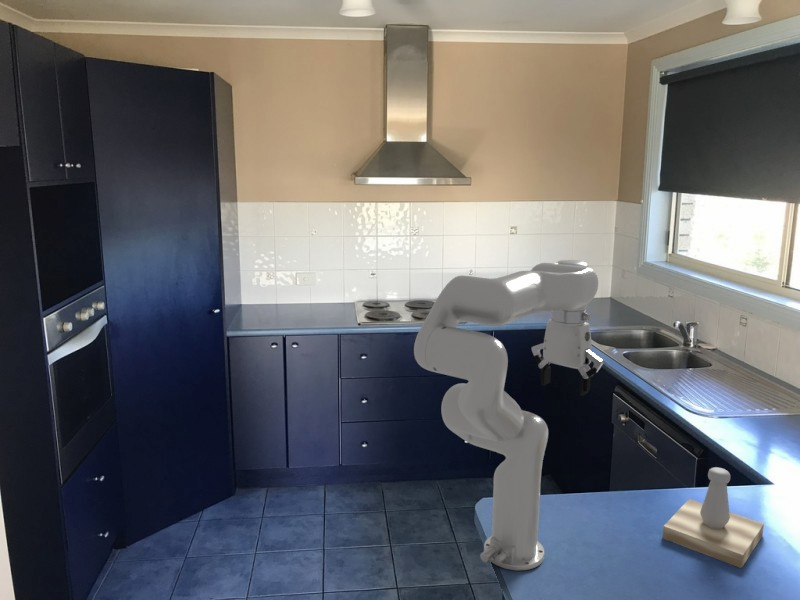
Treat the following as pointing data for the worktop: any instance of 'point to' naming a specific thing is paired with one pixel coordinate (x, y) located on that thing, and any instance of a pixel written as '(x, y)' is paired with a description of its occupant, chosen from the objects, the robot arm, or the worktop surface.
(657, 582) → the worktop surface
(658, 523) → the worktop surface
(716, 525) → the salt shaker
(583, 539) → the worktop surface
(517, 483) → the robot arm
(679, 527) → the plinth
